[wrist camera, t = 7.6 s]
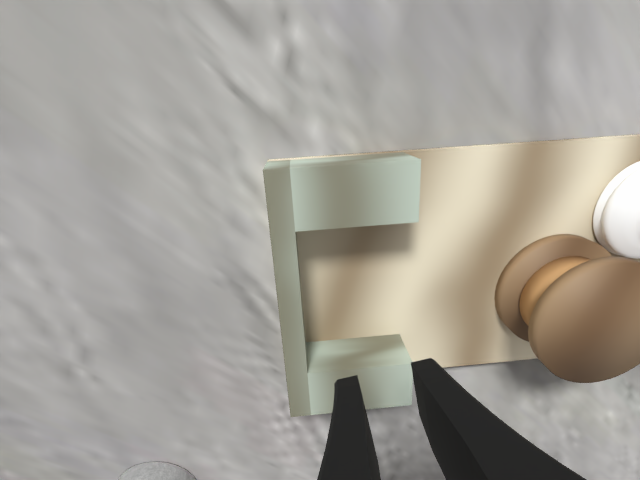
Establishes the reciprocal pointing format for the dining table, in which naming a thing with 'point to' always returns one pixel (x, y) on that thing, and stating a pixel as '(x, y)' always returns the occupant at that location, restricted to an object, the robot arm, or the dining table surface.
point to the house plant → (156, 472)
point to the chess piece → (620, 214)
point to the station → (448, 265)
